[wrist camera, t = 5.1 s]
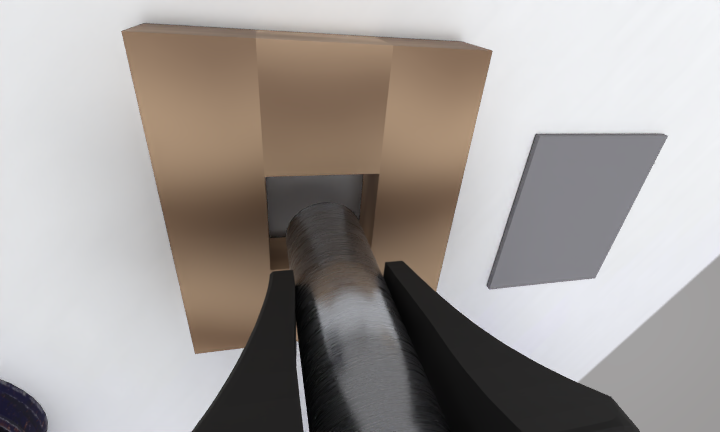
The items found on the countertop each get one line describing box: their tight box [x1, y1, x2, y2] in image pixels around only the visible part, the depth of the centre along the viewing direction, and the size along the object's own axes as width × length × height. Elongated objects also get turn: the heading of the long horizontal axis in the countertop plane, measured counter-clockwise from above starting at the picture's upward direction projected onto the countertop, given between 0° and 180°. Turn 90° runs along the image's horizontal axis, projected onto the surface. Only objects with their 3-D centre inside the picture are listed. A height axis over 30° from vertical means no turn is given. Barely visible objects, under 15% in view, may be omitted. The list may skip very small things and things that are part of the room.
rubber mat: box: [487, 134, 668, 289], centre depth 22 cm, size 10×8×1 cm
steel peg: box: [286, 203, 450, 432], centre depth 11 cm, size 3×3×10 cm
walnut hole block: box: [121, 23, 492, 354], centre depth 17 cm, size 14×12×2 cm
